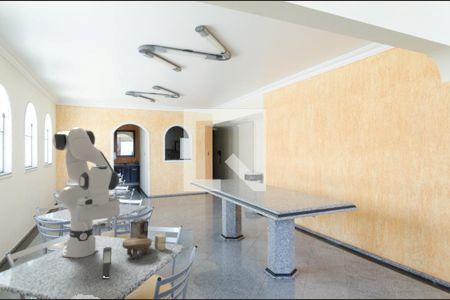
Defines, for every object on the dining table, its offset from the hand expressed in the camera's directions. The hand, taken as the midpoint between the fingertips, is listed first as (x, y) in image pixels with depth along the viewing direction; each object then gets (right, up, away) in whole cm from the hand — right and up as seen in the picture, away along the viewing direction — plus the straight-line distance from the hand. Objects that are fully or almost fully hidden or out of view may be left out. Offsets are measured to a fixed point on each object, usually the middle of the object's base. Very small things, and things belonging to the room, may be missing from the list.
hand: (97, 228), depth 132 cm
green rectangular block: (+1, -22, +6) cm, 23 cm away
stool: (+10, -24, +28) cm, 38 cm away
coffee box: (+6, -24, +43) cm, 50 cm away
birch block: (+20, -24, +41) cm, 52 cm away
